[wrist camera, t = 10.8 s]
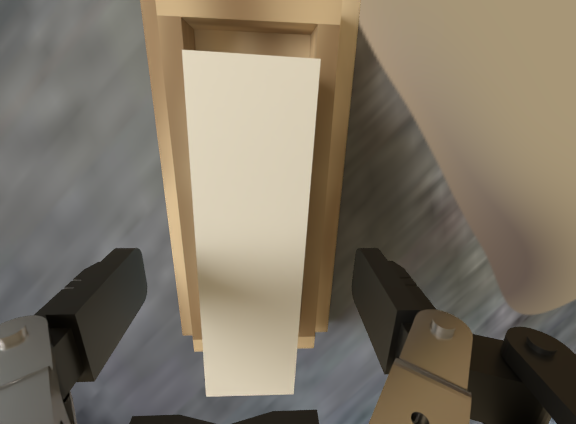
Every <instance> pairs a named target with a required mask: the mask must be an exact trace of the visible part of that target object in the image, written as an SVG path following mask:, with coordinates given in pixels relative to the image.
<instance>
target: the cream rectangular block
mask: <svg viewBox="0 0 576 424" xmlns="http://www.w3.org/2000/svg"><path fill="white" fill-rule="evenodd" d="M182 60H183V74H184V88H185V102H186V116H187V130H188V145H189V159H190V173H191V187H192V201H193V215H194V230H195V244H196V258H197V272H198V286H199V300H200V315H201V329H202V343H203V357H204V371H205V385H206V397H209V396H246V395H282V394H294V381H295V369H296V357H297V344H298V332H299V320H300V308H301V295H302V283H303V271H304V258H305V246H306V234H307V222H308V209H309V197H310V185H311V173H312V160H313V148H314V136H315V123H316V111H317V99H318V87H319V74H320V62H321V59H315V58H300V57H285V56H270V55H255V54H240V53H225V52H210V51H195V50H182Z"/></svg>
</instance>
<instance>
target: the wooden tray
mask: <svg viewBox="0 0 576 424" xmlns="http://www.w3.org/2000/svg"><path fill="white" fill-rule="evenodd" d="M140 2H141V10H142V18H143V26H144V34H145V42H146V50H147V57H148V65H149V73H150V81H151V89H152V97H153V105H154V112H155V120H156V128H157V136H158V144H159V152H160V160H161V167H162V175H163V183H164V191H165V199H166V207H167V215H168V222H169V230H170V238H171V246H172V254H173V262H174V270H175V277H176V285H177V293H178V301H179V309H180V317H181V325H182V332H183V335H193V343H194V351H203V343H202V329H201V315H200V300H199V286H198V272H197V258H196V244H195V230H194V215H193V201H192V187H191V173H190V159H189V145H188V130H187V116H186V102H185V88H184V74H183V60H182V50H195V51H210V52H225V53H240V54H255V55H270V56H285V57H300V58H315V59H321V62H320V74H319V87H318V99H317V111H316V123H315V136H314V148H313V160H312V173H311V185H310V197H309V209H308V222H307V234H306V246H305V258H304V271H303V283H302V295H301V308H300V320H299V332H298V344H297V348H314V339H315V332H327V329H328V319H329V309H330V300H331V290H332V280H333V270H334V260H335V250H336V240H337V230H338V220H339V211H340V201H341V191H342V181H343V171H344V161H345V151H346V141H347V132H348V122H349V112H350V102H351V92H352V82H353V72H354V62H355V53H356V43H357V33H358V23H359V13H360V3H361V0H140Z"/></svg>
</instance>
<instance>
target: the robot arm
mask: <svg viewBox="0 0 576 424" xmlns="http://www.w3.org/2000/svg"><path fill="white" fill-rule="evenodd" d="M146 295H147V282H146V276H145V270H144V264H143V258H142V253H141V251H140V249H138V248H116V249H114V250H113V251H112V252H111V253H109V254H108V255H107V256H106V257H105V258H104V259H103V260H102V261H101V262H97V263H96V264H94V265H92V266H90V267H88V268H86V269H84V270H83V271H82V272H81V273H80V274H79V275H78V276H76V277H75V278H74V279H73V281H71V282H70V283H69V284H68V285H67V286H65V289H62V290H61V291H60V292H59V293H58V294H57V295H56V296H54V297H53V298H52V299H51V300H50V301H49V302H48V303H47V304H46V305H44V306H43V307H42V308H41V309H40V310H39V311H38V312H37V313H36V314H35V315H30V316H23V317H18V318H15V319H11V320H9V321H6V322H4V323H1V324H0V424H77V421H76V415H75V409H74V403H73V398H72V395H71V392H70V390H71V388H72V387H73V386H74V384H75V383H76V382H93V381H95V380H96V378H97V376H98V375H99V373H100V372H101V370H102V368H103V367H104V365H105V364H106V362H107V361H108V359H109V357H110V356H111V354H112V353H113V351H114V349H115V348H116V346H117V345H118V343H119V341H120V340H121V338H122V337H123V335H124V333H125V332H126V330H127V329H128V327H129V325H130V324H131V322H132V321H133V319H134V317H135V316H136V314H137V313H138V311H139V309H140V308H141V306H142V305H143V303H144V301H145V299H146ZM352 295H353V299H354V302H355V304H356V307H357V309H358V312H359V314H360V316H361V319H362V321H363V324H364V326H365V328H366V331H367V333H368V336H369V338H370V340H371V343H372V345H373V348H374V350H375V352H376V355H377V357H378V360H379V362H380V365H381V367H382V369H383V372H384V374H389V375H388V377H387V380H386V382H385V385H384V387H383V390H382V392H381V395H380V397H379V399H378V402H377V404H376V407H375V409H374V412H373V414H372V417H371V419H370V421H369V424H469V421H470V419H472V420H475V421H479V422H482V423H483V424H548V423H549V421H550V419H551V417H552V418H553V419H554V421H555V422H556V423H557V424H576V354H574V353H573V352H572V351H571V350H570V349H569V348H568V347H566V346H565V345H564V344H563V343H561V342H560V341H558V340H557V339H555V338H553V337H551V336H549V335H547V334H545V333H543V332H540V331H537V330H534V329H531V328H526V327H513V328H510V329H509V330H508V331H507V333H506V335H505V338H504V341H503V340H498V339H493V338H488V337H484V336H479V335H475V334H472V332H471V330H470V328H469V327H468V326H467V325H466V324H465V323H464V322H463V321H462V320H460V319H459V318H457V317H455V316H453V315H451V314H449V313H447V312H444V311H440V310H436V308H435V307H434V306H433V305H432V303H431V302H430V301H429V300H428V298H427V297H426V296H425V295H424V293H423V292H422V291H421V290H420V288H419V287H418V286H417V284H416V283H415V282H414V281H413V279H411V277H410V276H409V274H408V273H407V272H406V271H405V269H404V268H402V267H401V266H399V265H398V264H396V263H395V262H393V261H387V259H386V258H385V257H384V255H383V254H382V253H381V251H380V250H379V249H378V248H358V249H357V251H356V255H355V263H354V271H353V279H352ZM129 424H215V423H211V422H207V421H203V420H199V419H195V418H191V417H186V416H182V415H157V416H132V419H131V421H130V423H129ZM233 424H319V420H318V414H317V410H296V411H272V412H269V413H266V414H262V415H259V416H256V417H253V418H249V419H246V420H243V421H239V422H236V423H233Z"/></svg>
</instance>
